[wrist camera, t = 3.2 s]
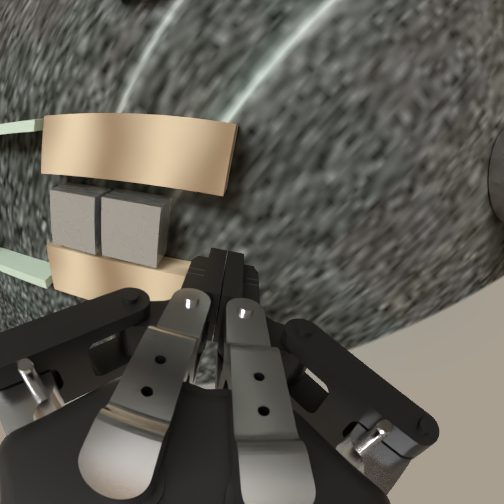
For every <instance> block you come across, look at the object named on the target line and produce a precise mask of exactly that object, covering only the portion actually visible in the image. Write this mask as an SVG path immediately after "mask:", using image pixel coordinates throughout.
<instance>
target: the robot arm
mask: <svg viewBox="0 0 504 504" xmlns="http://www.w3.org/2000/svg"><path fill="white" fill-rule="evenodd" d="M489 194H490V201H491V204H492V207H493V210H494V212H495V214H496V216H497V217H498V218H499V219H500V220H501V221H502V222H504V130H503V131H502V132H501V134H500V135H499V137H498V138H497V140H496V143H495V145H494V147H493V151H492V155H491V160H490V166H489ZM226 254H227V251H226V250H221V249H216V248H211V252H210V255H209V258H207V257H202V256H197V257H196V258H194V259H193V260H192V261H191V264H190V266H189V269H188V271H187V274H186V276H185V279H184V282H183V284H182V287H181V289H180V290H178V291H176V292H175V293H174V294H173V295H172V297H171V299H169V300H165V301H150V297H149V295H148V294H147V293H146V292H145V291H143V290H141V289H138V288H133V287H127V288H122V289H119V290H116V291H113V292H111V293H108V294H105V295H102V296H99V297H97V298H94V299H91V300H88V301H85V302H83V303H80V304H77V305H74V306H72V307H69V308H66V309H63V310H60V311H58V312H55V313H52V314H49V315H47V316H44V317H41V318H38V319H36V320H33V321H30V322H27V323H25V324H22V325H19V326H17V327H14V328H11V329H8V330H6V331H3V332H0V420H1V423H2V426H3V428H4V431H5V433H6V437H5V438H4V440H3V441H2V443H1V445H0V504H390V501H389V499H388V497H387V496H386V495H387V494H388V493H389V491H390V490H391V489H392V487H393V486H394V485H395V483H396V482H397V480H398V479H399V478H400V476H401V475H402V473H403V472H404V470H405V469H406V467H407V466H408V464H409V463H410V461H411V460H412V459H414V458H415V457H416V456H418V455H419V454H421V453H422V452H423V451H425V450H426V449H427V448H429V447H430V446H431V445H432V444H434V443H435V442H436V441H437V439H438V437H439V427H438V424H437V422H436V421H435V419H434V418H433V417H432V416H431V415H429V414H428V413H427V412H426V411H424V410H423V409H422V408H420V407H419V406H418V405H416V404H415V403H414V402H413V401H411V400H410V399H409V398H407V397H406V396H405V395H403V394H402V393H401V392H399V391H398V390H397V389H396V388H394V387H393V386H392V385H390V384H389V383H388V382H387V381H385V380H384V379H383V378H382V377H380V376H379V375H378V374H376V373H375V372H374V371H373V370H371V369H370V368H369V367H368V366H366V365H365V364H364V363H363V362H361V361H360V360H359V359H358V358H356V357H355V356H354V355H353V354H351V353H350V352H349V351H347V350H346V349H345V348H344V347H342V346H341V345H340V344H339V343H337V342H336V341H335V340H334V339H332V338H331V337H330V336H329V335H328V334H326V333H325V332H324V331H323V330H321V329H320V328H319V327H318V326H316V325H315V324H314V323H312V322H310V321H307V320H304V319H292V320H289V321H288V322H287V323H286V325H282V324H280V323H277V322H275V321H272V320H271V319H269V318H268V317H266V316H265V312H264V309H263V307H262V306H261V305H260V298H259V281H258V272H257V271H256V269H255V268H254V266H249V265H244V254H242V253H237V252H232V251H228V255H227V260H226ZM225 260H226V265H225ZM224 266H225V271H224ZM223 272H224V276H223ZM222 278H223V281H222ZM221 285H222V286H221ZM220 291H221V292H220ZM219 297H220V299H219ZM218 302H219V305H218ZM217 307H218V312H217ZM216 313H217V318H216ZM215 318H216V325H215V332H214V339H213V341H215V342H218V349H217V354H216V380H215V389H203V388H201V387H198V386H196V385H194V384H195V380H196V377H197V373H198V369H199V366H200V362H201V359H202V355H203V350H204V349H205V346H206V341H207V340H209V341H212V335H213V329H214V324H215ZM113 334H116V338H114V339H112V340H109V341H107V342H105V343H102V344H100V345H98V346H96V347H93V348H91V349H89V348H90V346H91V345H92V344H93V343H95V342H97V341H100V340H102V339H104V338H107V337H109V336H111V335H113ZM307 368H308V369H309V370H310V371H311V372H312V373H313V374H315V375H316V376H317V377H318V378H319V379H320V380H321V381H323V382H324V383H325V384H326V386H327V388H328V391H329V393H327V392H326V391H325V390H324V389H323V388H322V387H321V386H320V385H319V384H317V383H316V382H315V381H314V380H313V379H312V378H311V377H310V376H309V375H307V374H306V373H305V370H306V369H307ZM120 376H122V377H121V379H118V380H114V379H116V378H118V377H120ZM112 380H114V381H112ZM110 381H112V382H110ZM108 382H109V383H108ZM106 383H107V384H106ZM104 384H105V385H104ZM102 385H103V386H102ZM100 386H101V387H100ZM98 387H99V388H98ZM96 388H97V389H96ZM94 389H95V390H94ZM92 390H94V391H92ZM90 391H92V392H90ZM88 392H90V393H88ZM86 393H88V394H86ZM84 394H86V395H84ZM81 395H84V396H82V397H80V398H79V399H77V400H75V401H73V402H71V403H69V404H67V405H65V406H64V404H65V403H67V402H69V401H71V400H73V399H75V398H77V397H79V396H81Z"/></svg>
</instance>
